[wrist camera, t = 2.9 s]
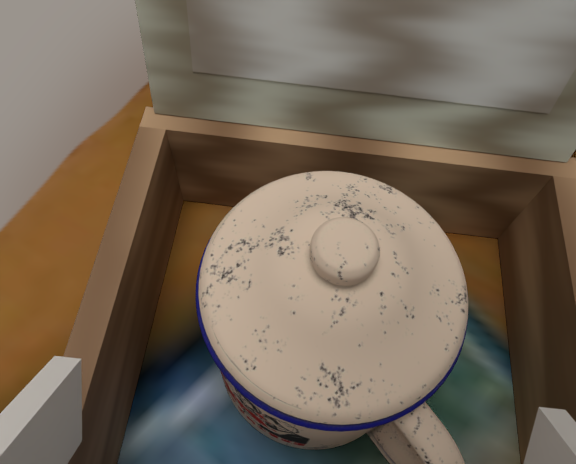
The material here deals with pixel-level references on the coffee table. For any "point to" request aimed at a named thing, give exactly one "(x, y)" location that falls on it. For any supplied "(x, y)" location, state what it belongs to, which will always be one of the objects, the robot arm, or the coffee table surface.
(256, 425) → the teacup with lid
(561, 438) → the robot arm
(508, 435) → the coffee table surface
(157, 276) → the open wooden keepsake box
